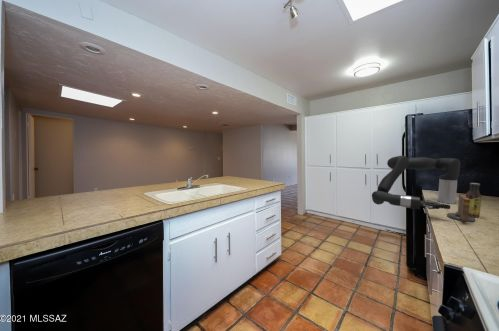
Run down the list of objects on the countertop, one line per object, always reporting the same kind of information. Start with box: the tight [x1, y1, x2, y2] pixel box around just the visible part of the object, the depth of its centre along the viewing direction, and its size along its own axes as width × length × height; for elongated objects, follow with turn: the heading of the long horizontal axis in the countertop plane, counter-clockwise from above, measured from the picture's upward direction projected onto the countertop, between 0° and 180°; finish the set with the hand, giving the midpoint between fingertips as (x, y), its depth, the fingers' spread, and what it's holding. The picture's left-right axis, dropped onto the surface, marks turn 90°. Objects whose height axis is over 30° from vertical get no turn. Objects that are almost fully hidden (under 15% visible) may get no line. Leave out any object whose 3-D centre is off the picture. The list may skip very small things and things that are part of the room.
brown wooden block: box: [454, 193, 470, 223], centre depth 105 cm, size 13×4×12 cm, turn 139°
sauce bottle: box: [465, 182, 482, 218], centre depth 112 cm, size 6×6×20 cm
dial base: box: [446, 212, 476, 223], centre depth 109 cm, size 11×11×1 cm
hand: (449, 207), depth 106 cm, fingers closed
